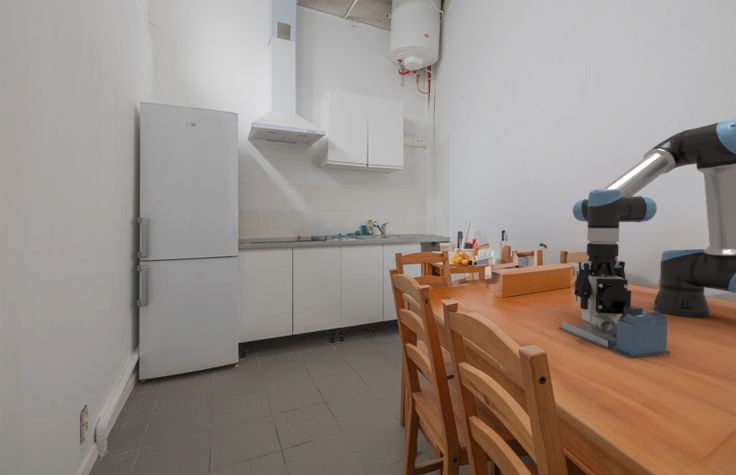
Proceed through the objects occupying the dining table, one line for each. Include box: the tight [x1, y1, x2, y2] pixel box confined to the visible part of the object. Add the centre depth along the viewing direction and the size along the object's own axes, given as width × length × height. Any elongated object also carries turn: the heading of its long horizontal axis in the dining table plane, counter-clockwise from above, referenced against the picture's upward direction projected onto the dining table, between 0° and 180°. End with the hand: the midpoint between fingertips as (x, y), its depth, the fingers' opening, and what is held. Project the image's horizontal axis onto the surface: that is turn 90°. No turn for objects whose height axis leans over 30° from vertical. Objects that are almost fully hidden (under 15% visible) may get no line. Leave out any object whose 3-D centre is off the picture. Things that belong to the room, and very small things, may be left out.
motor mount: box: [557, 305, 671, 359], centre depth 94 cm, size 13×23×12 cm, turn 12°
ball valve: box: [573, 270, 632, 333], centre depth 96 cm, size 18×8×18 cm, turn 169°
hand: (600, 318), depth 97 cm, fingers closed on ball valve, 9 cm apart
